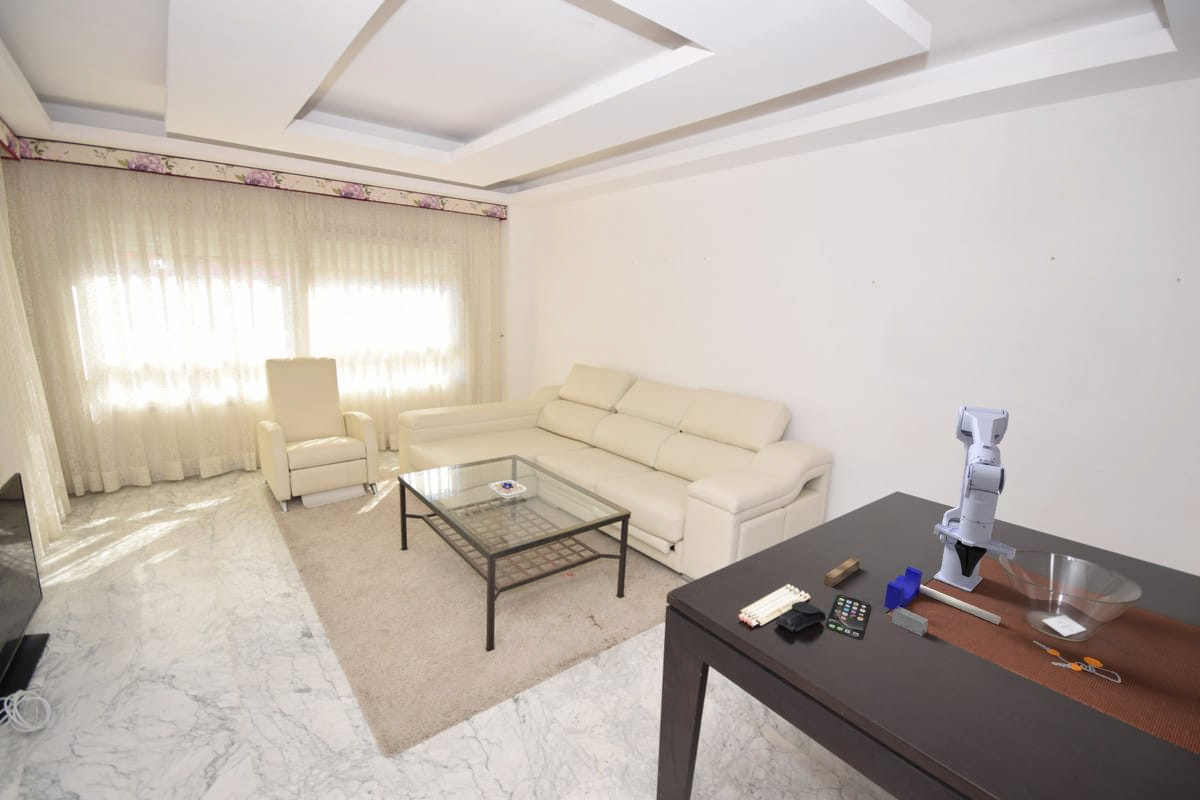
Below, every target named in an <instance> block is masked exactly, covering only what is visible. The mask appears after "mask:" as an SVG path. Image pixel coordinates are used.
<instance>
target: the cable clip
mask: <svg viewBox="0 0 1200 800" xmlns="http://www.w3.org/2000/svg"><path fill="white" fill-rule="evenodd" d="M922 576H923V571H921V570H919V569H916V568H914V567H912V566H907V567H906V568H905V573H904V575H902V574H900V575H899V576H898V577H896V578H895V580H894V582H893V581H889V582H888V583H887V586H886V594H885V601H884V608H887V609H889V610H892V611H894V609H895V608H897V607H898V606H899V607H902V608H904V609H905V607H907V606H908V605H909V604H910V602H912V601H913V599H915V598H916V597H917V596H918V595H919V594H920V592H919V590H920V585H922V584H921V582H922Z"/></svg>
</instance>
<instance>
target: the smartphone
mask: <svg viewBox="0 0 1200 800" xmlns="http://www.w3.org/2000/svg"><path fill="white" fill-rule="evenodd" d="M871 607H872V606H871V603H868V602H866V601H863V600H859V599H856V598H854V597H849V596H846V595H844V594H836V596H835V599H834V601H833V603H832V606H831V608H830V611H829V613H828V617H827V620H826V622H825V623H824V625H825V626H824V627H825V629H827V630H829V629H830V630H829V631H831V630H832V632H834V631H835V632H834V633H837V632H838V634H840V635H844V636H846V637H850V638H852V639H855V640H859V641H861V640H863V638H864V634H865V629H866V627H867V622H868V618H869V616H870V611H871Z"/></svg>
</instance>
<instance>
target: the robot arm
mask: <svg viewBox="0 0 1200 800" xmlns="http://www.w3.org/2000/svg"><path fill="white" fill-rule="evenodd" d="M1009 418H1010V416H1009V411H1008V410H1007V409H1004V408H1003V409H995V408H987V407H977V406H967V405H964V404H962V405H961V406H959V408H958V411H957V418H956V427H955V428H956V429H955V435H956V437H955V438H956V439H957V440H959V441H961V442H962V443H963V446H964V457H963V458H964V459H963V466H962V472H961V473H962V474H961V481H960V488H959V497H958V503H957V506H956V507H954V508H951V509H948V510H946V511H945V513H944V514H943V518H942V521H941V523H937V524H936V525H934V531H933V534H934V535H937V536H939V540H940V541H941V543H942V544H944V550H943V555H942V559H941V560H942V561H941V567H940V570H939V571H938V572H937V573H936V574H935V575H934V576H933V578H934V579H935V580H938V581H940V582H941V583H945V584H948V585H951V586H953V587H956V588H958V589H961V590H964V591H965V592H969V593H970V592H972V591H973V589H974V590H975V588H976V586H978V585H979V583H981V581H983V577H982V576H980V575H979V573H980V572H979V571H980V567H981V562H982V558H983V557H984V556H985V555H986V553H987V552H991V553H994V554H997V555H1000V556H1002V557H1005V558H1006V559H1008V560H1011V561H1012V560H1013V559H1014V558H1015V556H1016V552H1017V549H1016V548H1015V547H1012V546H1010V545H1007V544H1005V543H1003V542H1001V541H998V540H996V539H993V538H992V532H993V526H994V522H995V517H996V513H997V506H998V502H999V496H1000V495H1002V494H1003V491H1004V489H1005V484H1006V468H1005V466H1004V464H1002V462H1001V461H1002V460H1001V450H1000V448H999V447H998V446H997V445H1000V443H1001V441H1003V439H1004V436H1005V435H1006V433H1007V430H1008V425H1009Z"/></svg>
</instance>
